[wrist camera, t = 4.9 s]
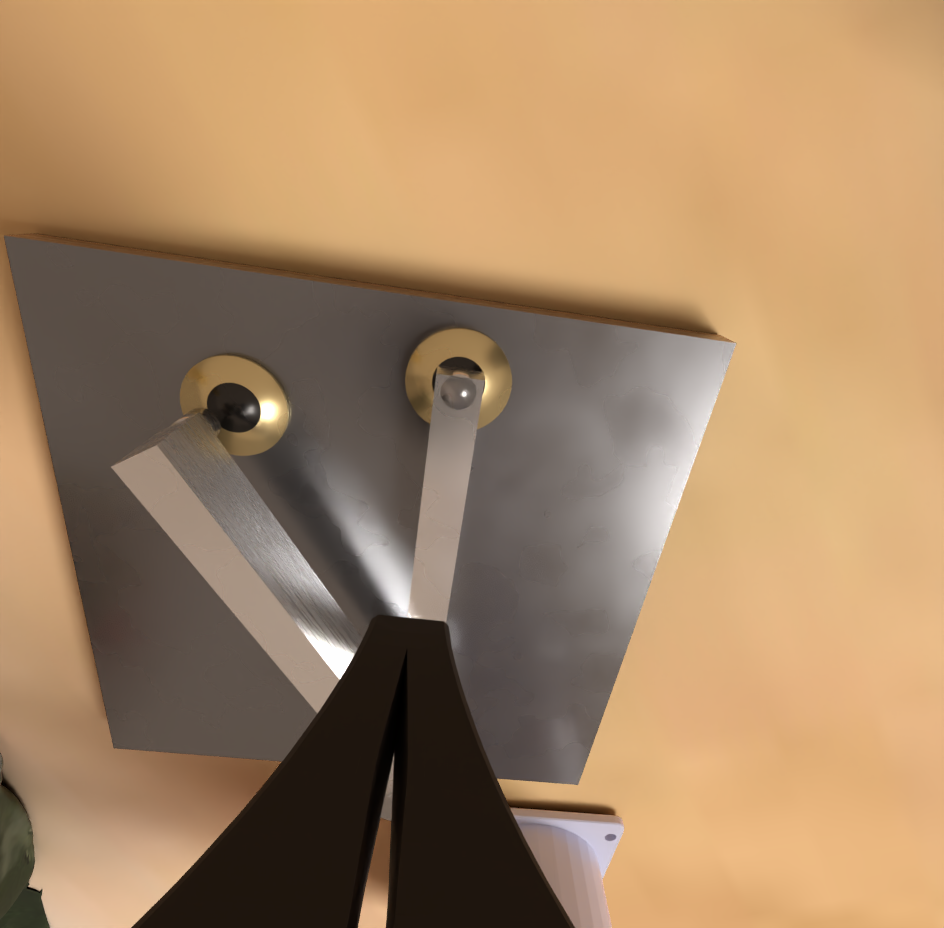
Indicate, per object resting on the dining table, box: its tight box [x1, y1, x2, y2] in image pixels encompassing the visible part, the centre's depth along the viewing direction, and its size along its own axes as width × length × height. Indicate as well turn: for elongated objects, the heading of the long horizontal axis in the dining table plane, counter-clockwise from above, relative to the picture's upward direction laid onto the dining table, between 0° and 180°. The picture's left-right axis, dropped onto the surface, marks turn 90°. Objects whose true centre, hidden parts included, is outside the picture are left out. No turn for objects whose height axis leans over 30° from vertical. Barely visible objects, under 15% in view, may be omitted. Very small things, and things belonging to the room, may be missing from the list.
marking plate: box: [4, 234, 736, 785], centre depth 17 cm, size 18×18×2 cm
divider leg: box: [111, 407, 394, 821], centre depth 15 cm, size 14×3×3 cm, turn 24°
